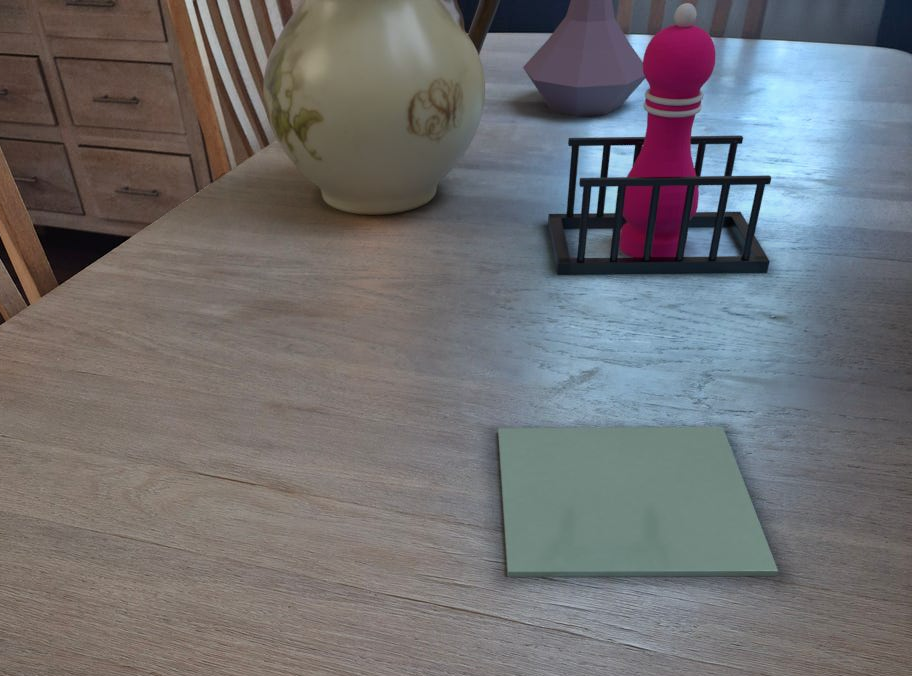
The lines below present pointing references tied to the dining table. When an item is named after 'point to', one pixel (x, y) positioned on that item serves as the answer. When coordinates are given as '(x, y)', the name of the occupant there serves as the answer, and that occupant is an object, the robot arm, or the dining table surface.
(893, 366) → the dining table surface
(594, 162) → the dining table surface
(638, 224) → the pepper mill
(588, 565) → the tile
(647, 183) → the rack
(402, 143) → the pitcher
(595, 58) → the mauve faceted vase
